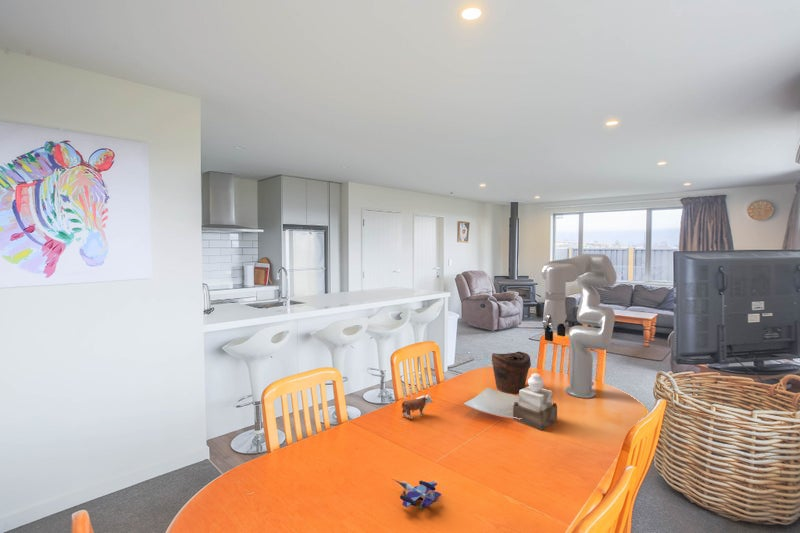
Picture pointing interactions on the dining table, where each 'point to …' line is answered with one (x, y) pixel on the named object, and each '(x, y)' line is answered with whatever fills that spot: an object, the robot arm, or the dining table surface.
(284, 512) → the dining table surface
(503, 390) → the brown plant pot
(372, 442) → the dining table surface
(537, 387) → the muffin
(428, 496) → the toy airplane
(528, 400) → the knobbed square box
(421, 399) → the bull figurine
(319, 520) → the dining table surface
